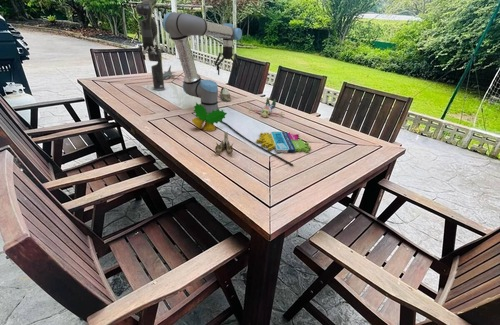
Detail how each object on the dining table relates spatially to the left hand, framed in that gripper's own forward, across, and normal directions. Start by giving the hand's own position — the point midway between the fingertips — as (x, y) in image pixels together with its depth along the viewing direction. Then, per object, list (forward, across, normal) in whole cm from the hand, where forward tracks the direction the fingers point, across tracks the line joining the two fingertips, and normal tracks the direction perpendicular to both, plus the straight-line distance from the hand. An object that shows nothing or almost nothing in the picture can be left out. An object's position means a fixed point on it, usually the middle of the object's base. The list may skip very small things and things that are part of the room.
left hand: (149, 59), depth 199 cm
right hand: (+9, -45, +38) cm, 60 cm away
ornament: (+30, +4, +78) cm, 84 cm away
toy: (+30, -52, +78) cm, 98 cm away
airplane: (+30, -44, -61) cm, 81 cm away
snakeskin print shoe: (+30, -50, +30) cm, 65 cm away
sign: (+30, -16, +120) cm, 125 cm away
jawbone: (+30, +17, +108) cm, 113 cm away
